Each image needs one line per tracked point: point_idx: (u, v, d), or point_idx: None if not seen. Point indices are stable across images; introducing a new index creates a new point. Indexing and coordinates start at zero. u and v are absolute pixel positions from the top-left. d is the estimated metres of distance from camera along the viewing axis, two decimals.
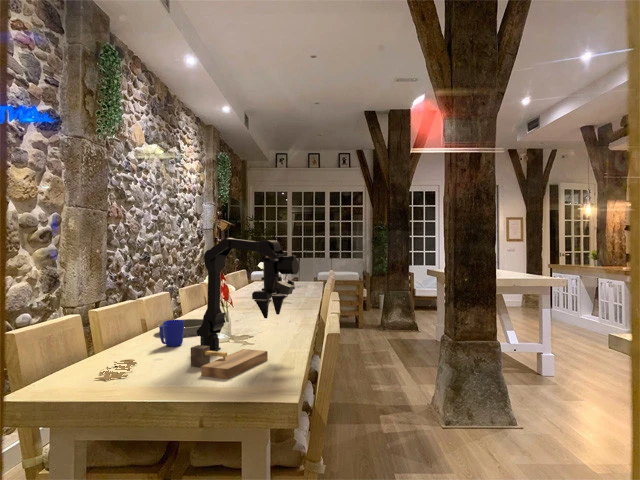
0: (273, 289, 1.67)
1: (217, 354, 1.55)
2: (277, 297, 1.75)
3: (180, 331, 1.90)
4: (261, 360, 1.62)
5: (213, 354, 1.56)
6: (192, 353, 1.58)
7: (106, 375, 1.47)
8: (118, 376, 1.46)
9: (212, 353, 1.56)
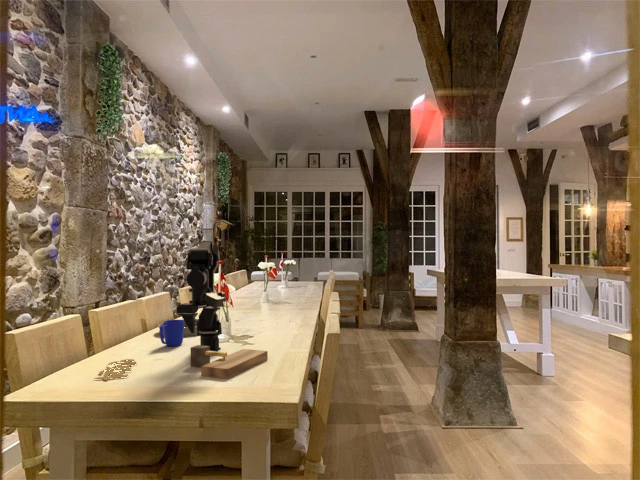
0: (201, 302, 1.55)
1: (217, 354, 1.55)
2: (208, 309, 1.64)
3: (180, 331, 1.90)
4: (261, 360, 1.62)
5: (213, 354, 1.56)
6: (192, 353, 1.58)
7: (106, 375, 1.47)
8: (118, 376, 1.46)
9: (212, 353, 1.56)
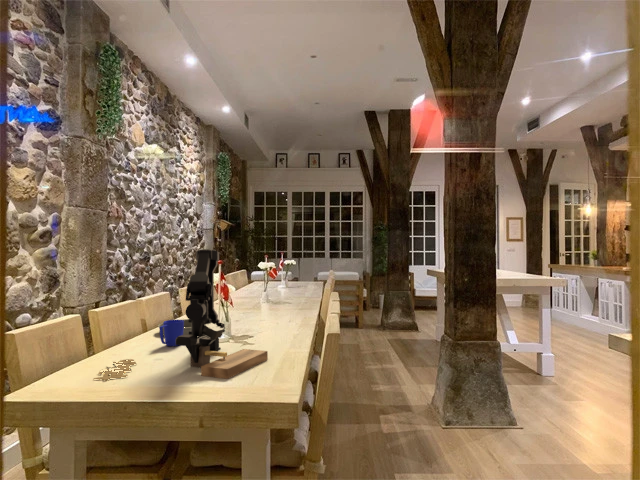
0: (200, 333, 1.55)
1: (217, 354, 1.55)
2: (204, 340, 1.61)
3: (180, 331, 1.90)
4: (261, 360, 1.62)
5: (213, 354, 1.56)
6: None
7: (105, 375, 1.47)
8: (117, 376, 1.46)
9: (212, 353, 1.56)
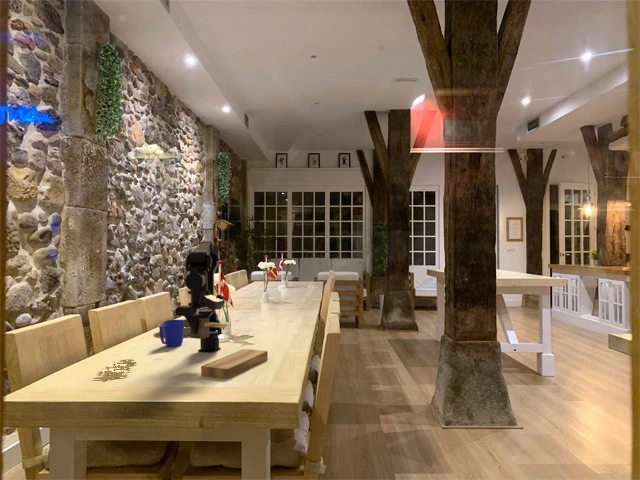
0: (199, 304, 1.55)
1: (217, 325, 1.55)
2: (203, 313, 1.61)
3: (180, 331, 1.90)
4: (261, 360, 1.62)
5: (212, 325, 1.56)
6: None
7: (105, 375, 1.47)
8: (117, 376, 1.46)
9: (212, 324, 1.56)
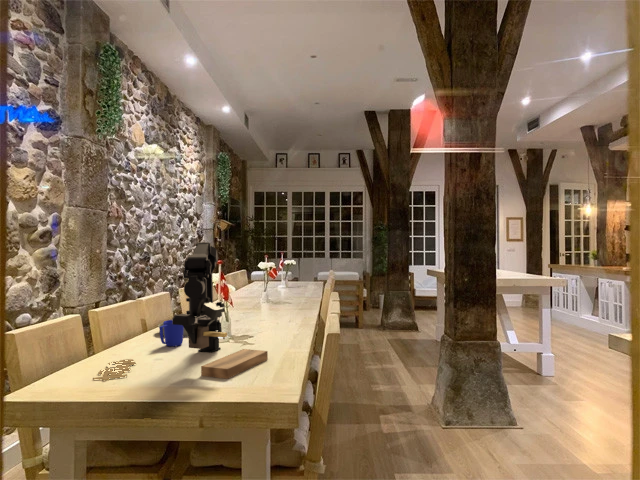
0: (198, 312, 1.47)
1: (216, 334, 1.47)
2: (202, 321, 1.53)
3: (180, 331, 1.90)
4: (261, 360, 1.62)
5: (212, 335, 1.48)
6: None
7: (105, 375, 1.47)
8: (117, 376, 1.46)
9: (211, 333, 1.48)
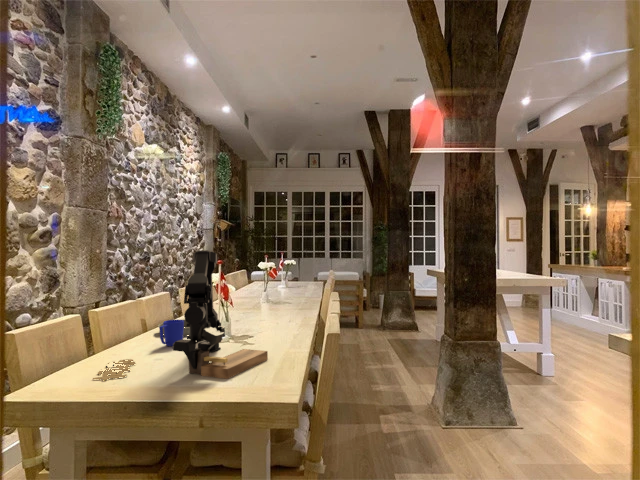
0: (199, 337, 1.47)
1: (217, 360, 1.47)
2: (203, 345, 1.53)
3: (180, 331, 1.90)
4: (261, 360, 1.62)
5: (212, 360, 1.47)
6: None
7: (104, 375, 1.47)
8: (116, 376, 1.46)
9: (212, 359, 1.48)
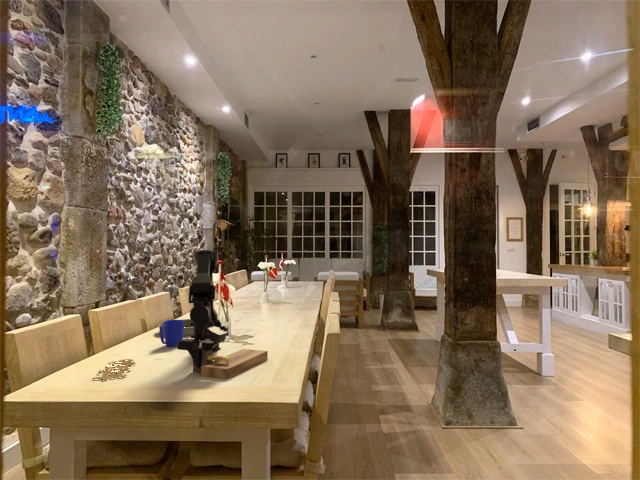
0: (202, 337, 1.49)
1: (220, 359, 1.48)
2: (206, 344, 1.55)
3: (180, 331, 1.90)
4: (261, 360, 1.62)
5: (216, 359, 1.49)
6: None
7: (104, 375, 1.47)
8: (116, 376, 1.46)
9: (215, 358, 1.49)
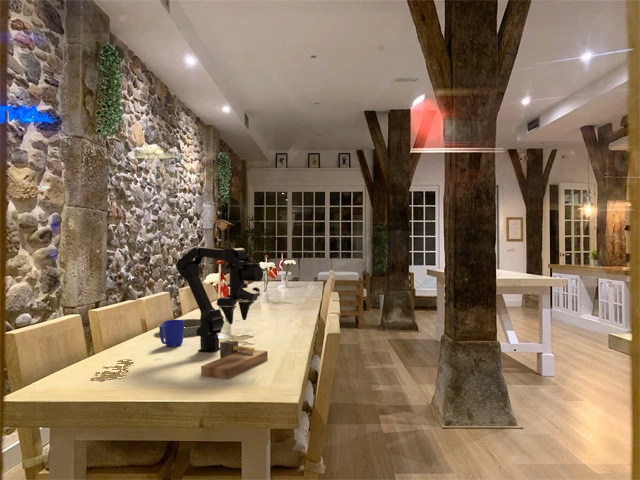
0: (238, 296, 1.72)
1: (245, 349, 1.62)
2: (244, 303, 1.80)
3: (180, 331, 1.90)
4: (261, 360, 1.62)
5: (241, 349, 1.63)
6: (221, 348, 1.65)
7: (102, 375, 1.47)
8: (114, 376, 1.46)
9: (240, 348, 1.63)
